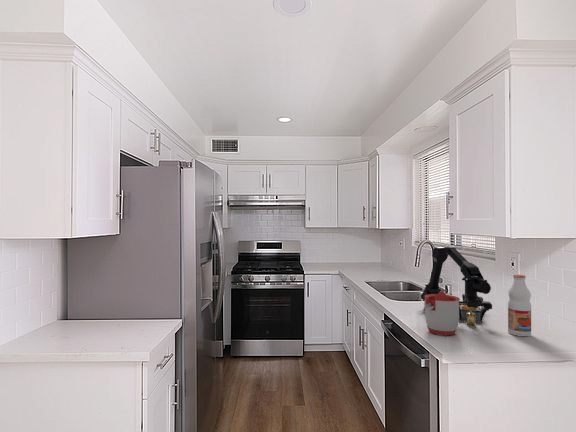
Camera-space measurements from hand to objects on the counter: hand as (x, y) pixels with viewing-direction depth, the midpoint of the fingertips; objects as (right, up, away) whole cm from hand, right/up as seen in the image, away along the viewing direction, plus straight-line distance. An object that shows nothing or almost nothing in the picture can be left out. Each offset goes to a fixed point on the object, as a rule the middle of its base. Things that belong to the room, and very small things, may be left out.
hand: (470, 320), depth 190 cm
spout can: (0, -2, 0) cm, 2 cm away
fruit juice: (+16, -2, -15) cm, 22 cm away
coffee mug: (+15, -3, +28) cm, 32 cm away
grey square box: (+5, -3, +13) cm, 14 cm away
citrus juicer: (-21, -2, -13) cm, 25 cm away
